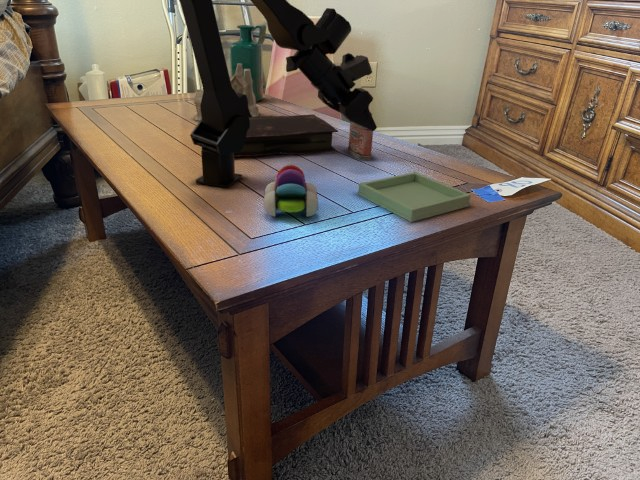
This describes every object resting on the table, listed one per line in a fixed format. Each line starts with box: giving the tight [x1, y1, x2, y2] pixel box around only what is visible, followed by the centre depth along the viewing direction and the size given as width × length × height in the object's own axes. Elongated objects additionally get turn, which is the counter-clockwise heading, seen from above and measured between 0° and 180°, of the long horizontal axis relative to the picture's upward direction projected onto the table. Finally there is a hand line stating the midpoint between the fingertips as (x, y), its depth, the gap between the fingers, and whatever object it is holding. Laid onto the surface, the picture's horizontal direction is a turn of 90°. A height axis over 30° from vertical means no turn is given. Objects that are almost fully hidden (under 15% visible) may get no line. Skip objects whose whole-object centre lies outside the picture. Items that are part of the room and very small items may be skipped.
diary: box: [217, 114, 339, 157], centre depth 115 cm, size 19×25×5 cm
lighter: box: [347, 111, 374, 161], centre depth 110 cm, size 8×3×10 cm, turn 25°
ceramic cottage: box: [193, 64, 260, 122], centre depth 136 cm, size 16×16×15 cm
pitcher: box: [229, 24, 267, 103], centre depth 156 cm, size 10×8×22 cm
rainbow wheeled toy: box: [263, 164, 319, 218], centre depth 81 cm, size 8×10×7 cm
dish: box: [357, 171, 472, 223], centre depth 89 cm, size 14×14×2 cm
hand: (367, 124), depth 110 cm, fingers closed on lighter, 8 cm apart
